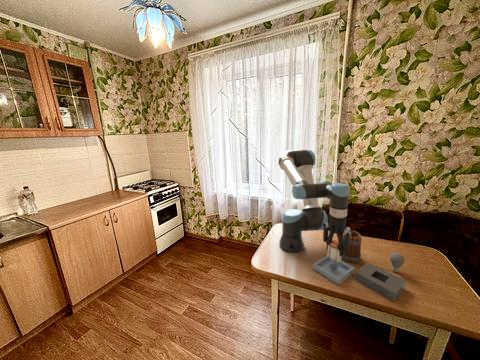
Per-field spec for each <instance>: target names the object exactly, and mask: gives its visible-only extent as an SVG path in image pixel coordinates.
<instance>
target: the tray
mask: <svg viewBox="0 0 480 360" xmlns="http://www.w3.org/2000/svg"><path fill="white" fill-rule="evenodd" d="M312 270H313V271H314V272H315V273H317V274H318V275H319V274H320V276H323V277H324V278H326V279H328V280H329V281H330V282H331V283H333V284H335V285H337V286H340V285H341V284H342V283H344V282H345V281H346V280H347V279H348V278H350V277H351V276H352V275H353V274H355V273H354V272H355V267H353V266H351V265H349V264H348V263H346V262H344V261H342V260H340V261H339V262H338V269H337V270H332V269H330V268H329V257H328V256H327V255H326V256H324V257H322V258H321V259H319V260H318V261H316V262H315V263H313V264H312Z"/></svg>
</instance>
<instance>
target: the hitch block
mask: <svg viewBox="0 0 480 360" xmlns="http://www.w3.org/2000/svg"><path fill="white" fill-rule="evenodd" d="M354 280H355V281H357V282H359V283H360V284H362V285H363V286H366V287H368V288H369V289H371V290H373V291H375V292H376V293H378V294H380V295H382V296H383V297H385V298H387V299H389V300H390V301H392V302H395V301H397V299H398V297H399V296H400V295H401V294H402V293H403V291H404V290H405V288H406V284H407V283H406V282H407V281H406V280H404V279H402V278H401V277H399V276H398V275H397V276H396V275H394V274H392V273H391V272H389V271H386V270H384V269H381V268H380V267H377V266H375V265H373V264H371V263H370V262H369V263H368V262H367V263H365V264H364V265H362V267H360V268H359V269H357V271H355V273H354Z"/></svg>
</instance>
